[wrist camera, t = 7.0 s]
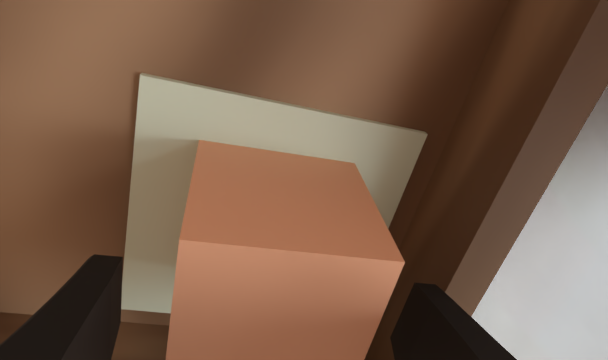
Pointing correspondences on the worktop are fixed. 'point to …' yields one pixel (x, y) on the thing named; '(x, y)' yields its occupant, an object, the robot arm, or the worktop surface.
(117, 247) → the arena
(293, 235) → the cube
